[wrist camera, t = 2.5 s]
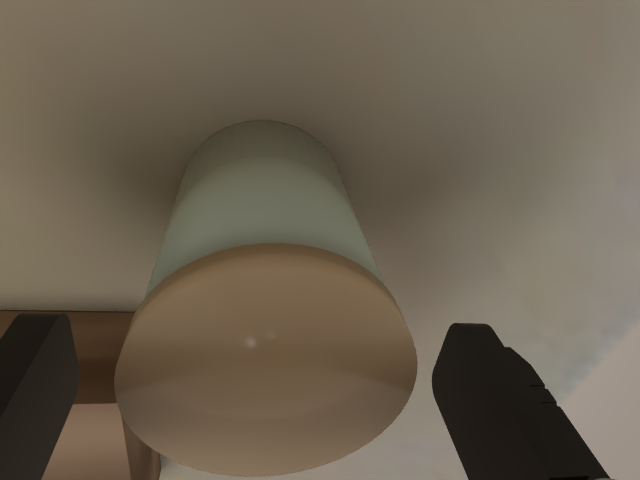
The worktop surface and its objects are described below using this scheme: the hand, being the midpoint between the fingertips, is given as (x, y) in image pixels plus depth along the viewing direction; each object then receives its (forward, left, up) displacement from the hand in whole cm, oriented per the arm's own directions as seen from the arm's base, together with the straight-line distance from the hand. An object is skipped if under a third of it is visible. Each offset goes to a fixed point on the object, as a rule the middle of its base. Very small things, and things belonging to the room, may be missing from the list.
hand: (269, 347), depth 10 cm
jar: (0, 0, -6) cm, 6 cm away
